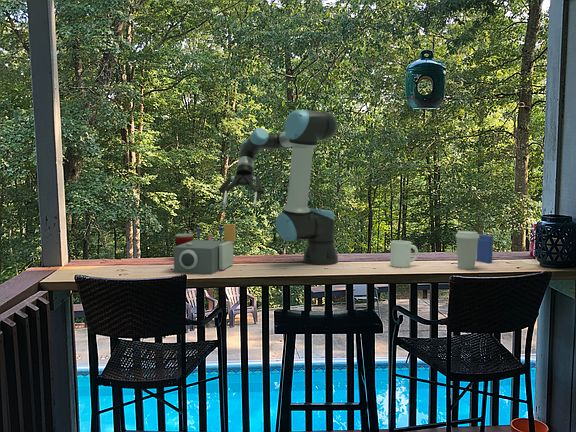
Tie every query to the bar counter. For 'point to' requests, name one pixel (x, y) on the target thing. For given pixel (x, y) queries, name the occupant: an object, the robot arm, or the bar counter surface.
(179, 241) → the canned food
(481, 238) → the walkman
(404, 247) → the mug
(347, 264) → the bar counter surface
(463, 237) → the coffee cup
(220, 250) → the door
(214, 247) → the camera housing
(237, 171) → the robot arm
